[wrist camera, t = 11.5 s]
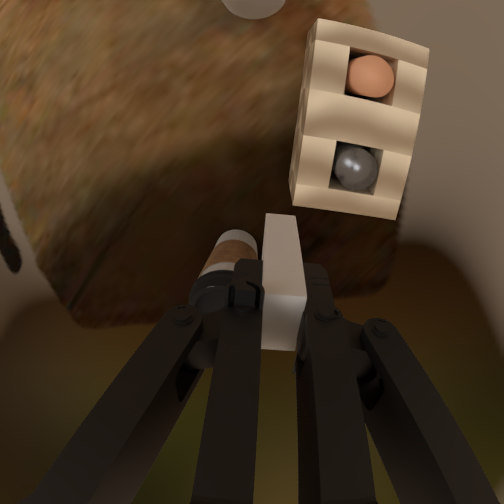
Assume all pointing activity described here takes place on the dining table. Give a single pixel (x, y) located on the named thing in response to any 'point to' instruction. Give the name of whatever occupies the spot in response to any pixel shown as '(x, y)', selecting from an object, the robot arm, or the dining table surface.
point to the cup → (254, 8)
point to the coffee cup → (221, 270)
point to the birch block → (355, 119)
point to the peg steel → (354, 166)
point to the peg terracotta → (369, 76)
